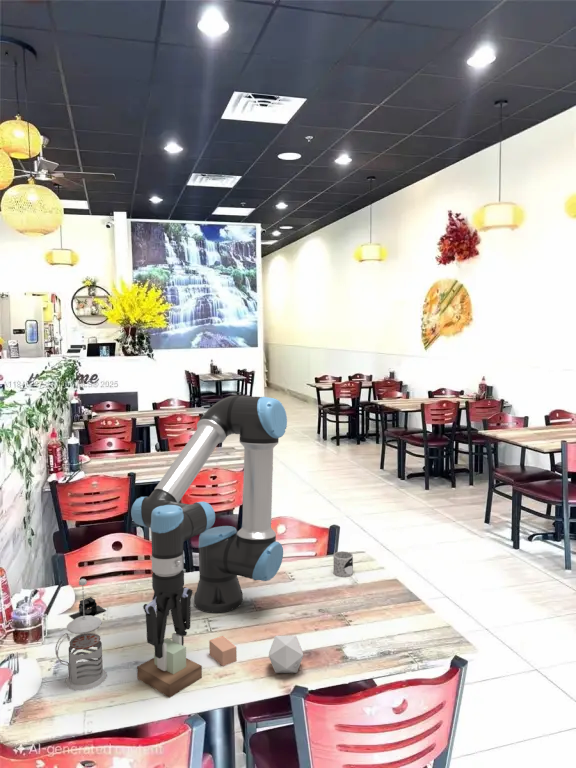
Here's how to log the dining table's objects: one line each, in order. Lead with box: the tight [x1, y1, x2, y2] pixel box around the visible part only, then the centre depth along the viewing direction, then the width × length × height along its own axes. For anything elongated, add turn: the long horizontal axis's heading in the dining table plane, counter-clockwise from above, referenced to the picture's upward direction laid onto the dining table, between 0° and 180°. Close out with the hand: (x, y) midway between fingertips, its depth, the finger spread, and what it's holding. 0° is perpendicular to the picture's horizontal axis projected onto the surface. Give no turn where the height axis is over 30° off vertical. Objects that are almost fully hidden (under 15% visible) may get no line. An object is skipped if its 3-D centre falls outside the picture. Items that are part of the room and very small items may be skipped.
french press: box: [54, 578, 108, 691], centre depth 144 cm, size 10×12×25 cm
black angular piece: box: [68, 596, 107, 620], centre depth 179 cm, size 12×7×5 cm, turn 136°
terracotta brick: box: [208, 635, 238, 667], centre depth 154 cm, size 7×4×4 cm, turn 36°
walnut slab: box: [136, 657, 203, 698], centre depth 145 cm, size 12×10×4 cm
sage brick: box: [153, 637, 187, 674], centre depth 145 cm, size 7×4×5 cm, turn 51°
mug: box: [333, 551, 354, 578], centre depth 209 cm, size 10×7×7 cm, turn 149°
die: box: [268, 635, 304, 674], centre depth 148 cm, size 8×9×10 cm
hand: (169, 664), depth 145 cm, fingers closed on sage brick, 4 cm apart
